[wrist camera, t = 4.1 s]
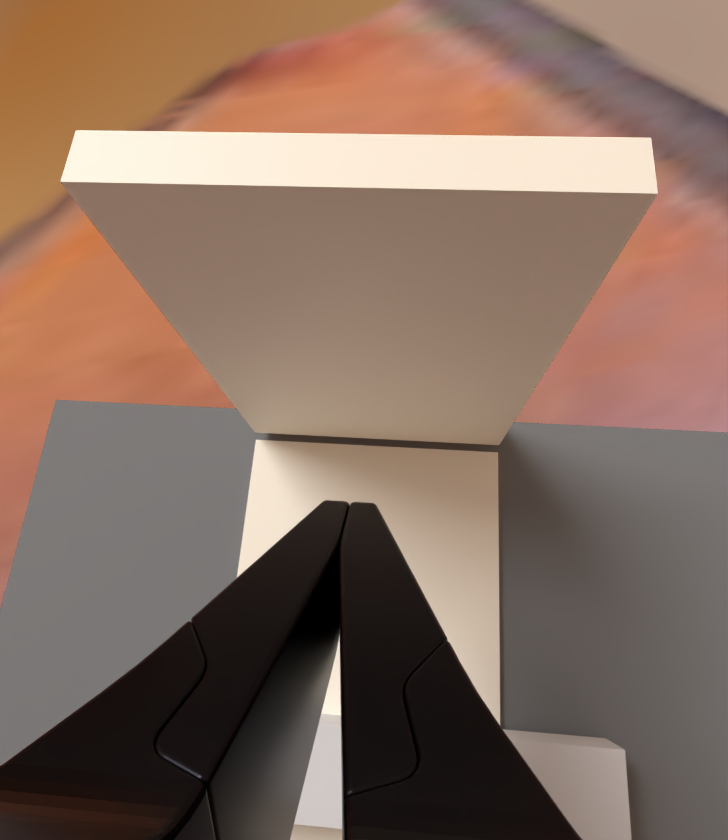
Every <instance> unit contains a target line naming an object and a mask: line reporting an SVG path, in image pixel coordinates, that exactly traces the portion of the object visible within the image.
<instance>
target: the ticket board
mask: <svg viewBox="0 0 728 840" xmlns="http://www.w3.org/2000/svg"><path fill="white" fill-rule="evenodd" d="M325 500H333V501H346V502H348V503H349V505H350V504H351V503H352V502H367V503H374V504H376V505H377V507H378V509H379V511H380V513H381V514H382V516H383V518H384V520H385V522H386V524H387V526H388V528H389V529H390V531H391V533H392V535H393V537H394V539H395V541H396V543H397V545H398V546H399V548H400V550H401V552H402V554H403V556H404V558H405V560H406V561H407V563H408V565H409V567H410V569H411V571H412V573H413V575H414V577H415V578H416V580H417V582H418V584H419V586H420V588H421V590H422V592H423V593H424V595H425V597H426V599H427V601H428V603H429V605H430V607H431V609H432V610H433V612H434V614H435V616H436V618H437V620H438V622H439V624H440V625H441V627H442V629H443V631H444V633H445V635H446V637H447V641H448V642H450V644H451V646H452V647H453V649H454V651H455V653H456V655H457V657H458V659H459V661H460V663H461V664H462V666H463V668H464V669H465V671H466V673H467V675H468V676H469V678H470V680H471V682H472V683H473V685H474V687H475V688H476V690H477V692H478V694H479V695H480V697H481V698H482V700H483V701H484V702H485V704H486V705H487V707H488V708H489V710H490V711H491V713H492V714H493V716H494V717H495V719H496V720H497V722H498V723H499V725H500V726H501V728H502V729H503V731H504V732H505V733H506V735H507V736H508V738H509V739H510V740H511V742H512V743H513V745H514V746H515V747H516V749H517V750H518V752H519V753H520V754H521V756H522V757H523V759H524V760H525V761H526V763H527V764H528V766H529V767H530V768H531V770H532V771H533V773H534V774H535V775H536V777H537V778H538V780H539V781H540V782H541V784H542V785H543V787H544V788H545V789H546V791H547V792H548V794H549V795H550V796H551V798H552V799H553V801H554V802H555V803H556V805H557V806H558V808H559V809H560V810H561V812H562V813H563V815H564V816H565V817H566V819H567V820H568V821H569V823H570V824H571V825H572V827H573V828H574V829H575V831H576V832H577V833H578V835H579V836H580V837H581V838H582V840H728V433H724V432H703V431H683V430H662V429H642V428H621V427H601V426H580V425H560V424H539V423H519V422H514V423H513V424H512V426H511V427H510V429H509V431H508V432H507V434H506V435H505V437H504V438H503V440H502V442H501V443H500V445H485V444H466V443H446V442H427V441H408V440H389V439H369V438H350V437H331V436H311V435H292V434H273V433H255V432H254V431H253V429H252V428H251V427H250V426H249V424H248V423H247V422H246V420H245V419H244V418H243V417H242V415H241V414H240V413H239V411H238V410H237V409H232V408H212V407H191V406H171V405H150V404H130V403H109V402H89V401H68V400H56V401H55V405H54V409H53V412H52V416H51V420H50V424H49V427H48V431H47V435H46V439H45V442H44V446H43V450H42V454H41V458H40V461H39V465H38V469H37V473H36V476H35V480H34V484H33V488H32V492H31V495H30V499H29V503H28V507H27V510H26V514H25V518H24V522H23V526H22V529H21V533H20V537H19V541H18V544H17V548H16V552H15V556H14V560H13V563H12V567H11V571H10V575H9V578H8V582H7V586H6V590H5V593H4V597H3V601H2V605H1V609H0V766H1V765H2V764H4V763H5V762H6V761H8V760H9V759H11V758H12V757H13V756H15V755H16V754H17V753H19V752H20V751H21V750H23V749H24V748H26V747H27V746H28V745H30V744H31V743H32V742H34V741H35V740H36V739H38V738H39V737H41V736H42V735H43V734H45V733H46V732H47V731H49V730H50V729H51V728H53V727H54V726H56V725H57V724H58V723H60V722H61V721H62V720H64V719H65V718H66V717H68V716H69V715H71V714H72V713H73V712H75V711H76V710H77V709H79V708H80V707H81V706H83V705H84V704H86V703H87V702H88V701H90V700H91V699H92V698H94V697H95V696H96V695H98V694H99V693H101V692H102V691H103V690H105V689H106V688H107V687H108V686H110V685H111V684H112V683H114V682H115V681H116V680H118V679H119V678H120V677H121V676H123V675H124V674H125V673H127V672H128V671H129V670H131V669H132V668H133V667H135V666H136V665H137V664H138V663H140V662H141V661H142V660H143V659H144V658H146V657H147V656H148V655H149V654H150V653H152V652H153V651H154V650H155V649H156V648H157V647H159V646H160V645H161V644H162V643H163V642H165V641H166V640H167V639H168V638H169V637H170V636H172V635H173V634H174V633H175V632H176V631H177V630H178V629H179V628H181V627H182V626H183V625H184V624H185V623H186V622H188V621H190V622H191V619H192V617H193V616H194V615H195V614H197V613H198V612H199V611H200V610H201V609H202V608H203V607H205V606H206V605H207V604H208V603H209V602H210V601H211V600H212V599H214V598H215V597H216V596H217V595H218V594H219V593H220V592H221V591H223V590H224V589H225V588H226V587H227V586H228V585H229V584H230V583H232V582H233V581H234V580H235V579H236V578H237V577H238V576H239V575H241V574H242V573H243V572H244V571H245V570H246V569H247V568H248V567H250V566H251V565H252V564H253V563H254V562H255V561H256V560H257V559H259V558H260V557H261V556H262V555H263V554H264V553H265V552H266V551H268V550H269V549H270V548H271V547H272V546H273V545H274V544H275V543H277V542H278V541H279V540H280V539H281V538H282V537H283V536H284V535H286V534H287V533H288V532H289V531H290V530H291V529H292V528H293V527H295V526H296V525H297V524H298V523H299V522H300V521H301V520H302V519H304V518H305V517H306V516H307V515H308V514H309V513H310V512H311V511H313V510H314V509H315V508H316V507H317V506H318V505H319V504H320V503H322V502H323V501H325ZM290 840H342V781H341V703H340V636H339V642H338V647H337V651H336V656H335V660H334V664H333V668H332V672H331V676H330V680H329V684H328V688H327V692H326V696H325V700H324V704H323V708H322V712H321V716H320V720H319V725H318V729H317V733H316V737H315V741H314V745H313V749H312V753H311V757H310V761H309V765H308V769H307V773H306V777H305V781H304V785H303V789H302V793H301V797H300V801H299V805H298V809H297V813H296V817H295V822H294V826H293V830H292V834H291V838H290Z"/></svg>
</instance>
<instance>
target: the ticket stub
mask: <svg viewBox="0 0 728 840" xmlns="http://www.w3.org/2000/svg"><path fill="white" fill-rule="evenodd" d="M60 182H61V183H62V184H63V186H64V187H65V188H66V190H67V191H68V192H69V193H70V195H71V196H72V197H73V199H74V200H75V201H76V202H77V204H78V205H79V206H80V208H81V209H82V210H83V211H84V213H85V214H86V215H87V217H88V218H89V219H90V220H91V222H92V223H93V224H94V226H95V227H96V228H97V230H98V231H99V232H100V233H101V235H102V236H103V237H104V239H105V240H106V241H107V242H108V244H109V245H110V246H111V248H112V249H113V250H114V251H115V253H116V254H117V255H118V257H119V258H120V259H121V260H122V262H123V263H124V264H125V266H126V267H127V268H128V269H129V271H130V272H131V273H132V275H133V276H134V277H135V279H136V280H137V281H138V282H139V284H140V285H141V286H142V288H143V289H144V290H145V291H146V293H147V294H148V295H149V297H150V298H151V299H152V300H153V302H154V303H155V304H156V306H157V307H158V308H159V309H160V311H161V312H162V313H163V315H164V316H165V317H166V319H167V320H168V321H169V322H170V324H171V325H172V326H173V328H174V329H175V330H176V331H177V333H178V334H179V335H180V337H181V338H182V339H183V340H184V342H185V343H186V344H187V346H188V347H189V348H190V349H191V351H192V352H193V353H194V355H195V356H196V357H197V358H198V360H199V361H200V362H201V364H202V365H203V366H204V368H205V369H206V370H207V371H208V373H209V374H210V375H211V377H212V378H213V379H214V380H215V382H216V383H217V384H218V386H219V387H220V388H221V389H222V391H223V392H224V393H225V395H226V396H227V397H228V398H229V400H230V401H231V402H232V404H233V405H234V406H235V408H236V409H237V410H238V411H239V413H240V414H241V415H242V417H243V418H244V419H245V420H246V422H247V423H248V424H249V426H250V427H251V428H252V429H253V431H254V432H255V433H273V434H292V435H311V436H331V437H350V438H369V439H389V440H408V441H427V442H446V443H466V444H485V445H500V443H501V442H502V440H503V438H504V437H505V435H506V434H507V432H508V431H509V429H510V427H511V426H512V424H513V423H514V421H515V419H516V418H517V416H518V415H519V413H520V411H521V410H522V408H523V407H524V405H525V404H526V402H527V400H528V399H529V397H530V396H531V394H532V392H533V391H534V389H535V388H536V386H537V385H538V383H539V381H540V380H541V378H542V377H543V375H544V373H545V372H546V370H547V369H548V367H549V365H550V364H551V362H552V361H553V359H554V358H555V356H556V354H557V353H558V351H559V350H560V348H561V346H562V345H563V343H564V342H565V340H566V339H567V337H568V335H569V334H570V332H571V331H572V329H573V327H574V326H575V324H576V323H577V321H578V319H579V318H580V316H581V315H582V313H583V312H584V310H585V308H586V307H587V305H588V304H589V302H590V300H591V299H592V297H593V296H594V294H595V293H596V291H597V289H598V288H599V286H600V285H601V283H602V281H603V280H604V278H605V277H606V275H607V273H608V272H609V270H610V269H611V267H612V266H613V264H614V262H615V261H616V259H617V258H618V256H619V254H620V253H621V251H622V250H623V248H624V247H625V245H626V243H627V242H628V240H629V239H630V237H631V235H632V234H633V232H634V231H635V229H636V227H637V226H638V224H639V223H640V221H641V220H642V218H643V216H644V215H645V213H646V212H647V210H648V208H649V207H650V205H651V204H652V202H653V201H654V199H655V197H656V196H657V194H658V191H657V182H656V174H655V166H654V158H653V150H652V142H651V138H625V137H548V136H472V135H395V134H319V133H242V132H166V131H89V130H88V131H86V130H76V132H75V135H74V139H73V142H72V145H71V148H70V152H69V155H68V158H67V162H66V165H65V168H64V172H63V175H62V178H61V181H60Z"/></svg>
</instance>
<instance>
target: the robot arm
mask: <svg viewBox="0 0 728 840" xmlns="http://www.w3.org/2000/svg"><path fill="white" fill-rule="evenodd" d="M339 636H340V703H341V781H342V840H582V838H581V837H580V836H579V835H578V833H577V832H576V831H575V829H574V828H573V827H572V825H571V824H570V823H569V821H568V820H567V819H566V817H565V816H564V815H563V813H562V812H561V810H560V809H559V808H558V806H557V805H556V803H555V802H554V801H553V799H552V798H551V796H550V795H549V794H548V792H547V791H546V789H545V788H544V787H543V785H542V784H541V782H540V781H539V780H538V778H537V777H536V775H535V774H534V773H533V771H532V770H531V768H530V767H529V766H528V764H527V763H526V761H525V760H524V759H523V757H522V756H521V754H520V753H519V752H518V750H517V749H516V747H515V746H514V745H513V743H512V742H511V740H510V739H509V738H508V736H507V735H506V733H505V732H504V731H503V729H502V728H501V726H500V725H499V723H498V722H497V720H496V719H495V717H494V716H493V714H492V713H491V711H490V710H489V708H488V707H487V705H486V704H485V702H484V701H483V700H482V698H481V697H480V695H479V694H478V692H477V690H476V688H475V687H474V685H473V683H472V682H471V680H470V678H469V676H468V675H467V673H466V671H465V669H464V668H463V666H462V664H461V663H460V661H459V659H458V657H457V655H456V653H455V651H454V649H453V647H452V646H451V644H450V642H448V641H447V637H446V635H445V633H444V631H443V629H442V627H441V625H440V624H439V622H438V620H437V618H436V616H435V614H434V612H433V610H432V609H431V607H430V605H429V603H428V601H427V599H426V597H425V595H424V593H423V592H422V590H421V588H420V586H419V584H418V582H417V580H416V578H415V577H414V575H413V573H412V571H411V569H410V567H409V565H408V563H407V561H406V560H405V558H404V556H403V554H402V552H401V550H400V548H399V546H398V545H397V543H396V541H395V539H394V537H393V535H392V533H391V531H390V529H389V528H388V526H387V524H386V522H385V520H384V518H383V516H382V514H381V513H380V511H379V509H378V507H377V505H376V504H374V503H367V502H352V503H351V504H350V505H349V503H348V502H346V501H333V500H325V501H323V502H322V503H320V504H319V505H318V506H317V507H316V508H315V509H314V510H313V511H311V512H310V513H309V514H308V515H307V516H306V517H305V518H304V519H302V520H301V521H300V522H299V523H298V524H297V525H296V526H295V527H293V528H292V529H291V530H290V531H289V532H288V533H287V534H286V535H284V536H283V537H282V538H281V539H280V540H279V541H278V542H277V543H275V544H274V545H273V546H272V547H271V548H270V549H269V550H268V551H266V552H265V553H264V554H263V555H262V556H261V557H260V558H259V559H257V560H256V561H255V562H254V563H253V564H252V565H251V566H250V567H248V568H247V569H246V570H245V571H244V572H243V573H242V574H241V575H239V576H238V577H237V578H236V579H235V580H234V581H233V582H232V583H230V584H229V585H228V586H227V587H226V588H225V589H224V590H223V591H221V592H220V593H219V594H218V595H217V596H216V597H215V598H214V599H212V600H211V601H210V602H209V603H208V604H207V605H206V606H205V607H203V608H202V609H201V610H200V611H199V612H198V613H197V614H195V615H194V616H193V617H192V619H191V622H190V621H188V622H186V623H185V624H184V625H183V626H182V627H181V628H179V629H178V630H177V631H176V632H175V633H174V634H173V635H172V636H170V637H169V638H168V639H167V640H166V641H165V642H163V643H162V644H161V645H160V646H159V647H157V648H156V649H155V650H154V651H153V652H152V653H150V654H149V655H148V656H147V657H146V658H144V659H143V660H142V661H141V662H140V663H138V664H137V665H136V666H135V667H133V668H132V669H131V670H129V671H128V672H127V673H125V674H124V675H123V676H121V677H120V678H119V679H118V680H116V681H115V682H114V683H112V684H111V685H110V686H108V687H107V688H106V689H105V690H103V691H102V692H101V693H99V694H98V695H96V696H95V697H94V698H92V699H91V700H90V701H88V702H87V703H86V704H84V705H83V706H81V707H80V708H79V709H77V710H76V711H75V712H73V713H72V714H71V715H69V716H68V717H66V718H65V719H64V720H62V721H61V722H60V723H58V724H57V725H56V726H54V727H53V728H51V729H50V730H49V731H47V732H46V733H45V734H43V735H42V736H41V737H39V738H38V739H36V740H35V741H34V742H32V743H31V744H30V745H28V746H27V747H26V748H24V749H23V750H21V751H20V752H19V753H17V754H16V755H15V756H13V757H12V758H11V759H9V760H8V761H6V762H5V763H4V764H2V765H1V766H0V840H290V838H291V834H292V830H293V826H294V822H295V817H296V813H297V809H298V805H299V801H300V797H301V793H302V789H303V785H304V781H305V777H306V773H307V769H308V765H309V761H310V757H311V753H312V749H313V745H314V741H315V737H316V733H317V729H318V725H319V720H320V716H321V712H322V708H323V704H324V700H325V696H326V692H327V688H328V684H329V680H330V676H331V672H332V668H333V664H334V660H335V656H336V651H337V647H338V642H339Z"/></svg>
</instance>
